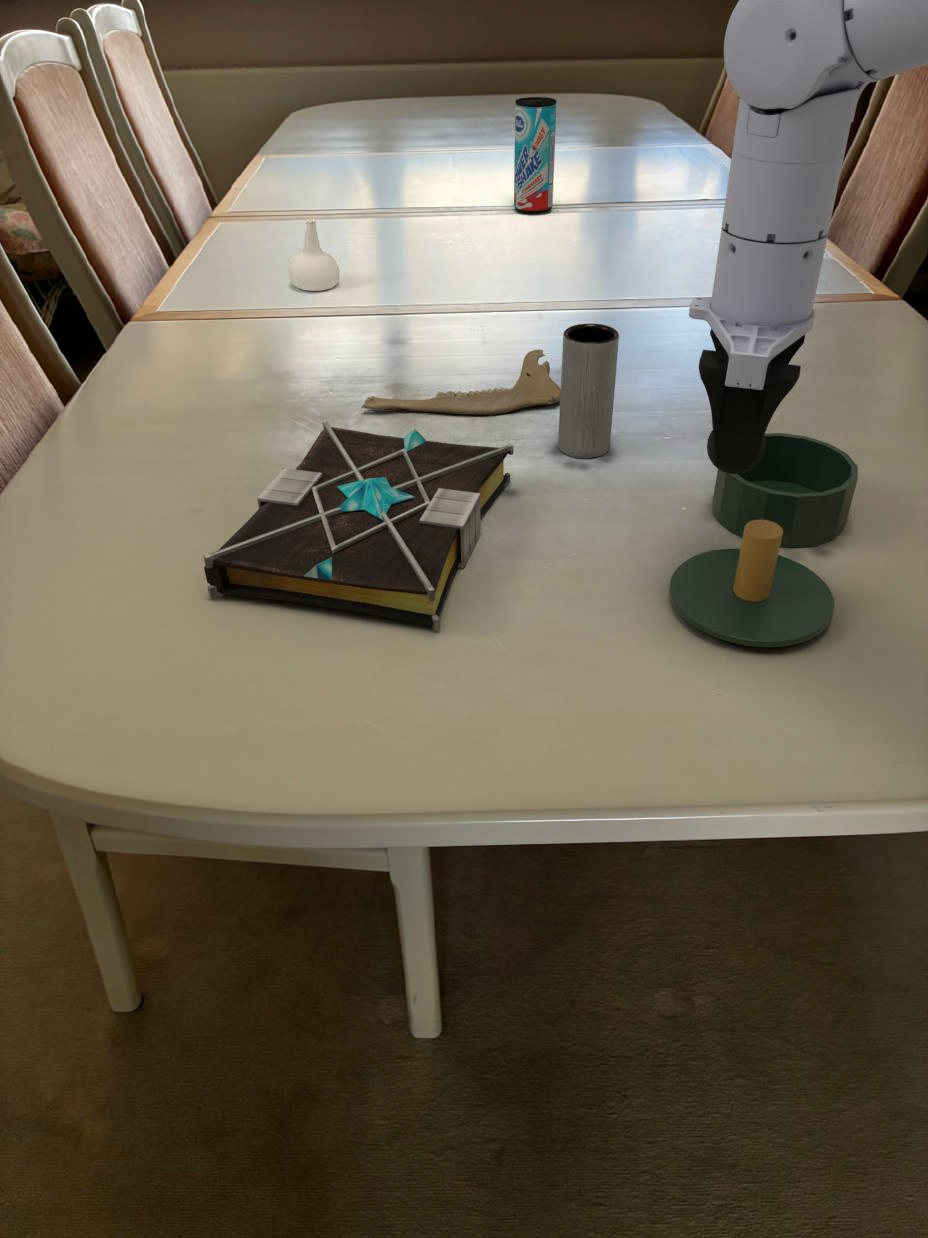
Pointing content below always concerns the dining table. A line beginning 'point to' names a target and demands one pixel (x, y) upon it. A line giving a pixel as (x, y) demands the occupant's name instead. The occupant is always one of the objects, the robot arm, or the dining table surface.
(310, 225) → the garlic bulb
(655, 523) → the dining table surface
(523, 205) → the beverage can
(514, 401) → the jawbone
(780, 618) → the lid
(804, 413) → the dining table surface
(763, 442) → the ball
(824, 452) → the tin
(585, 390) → the planter
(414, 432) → the book
